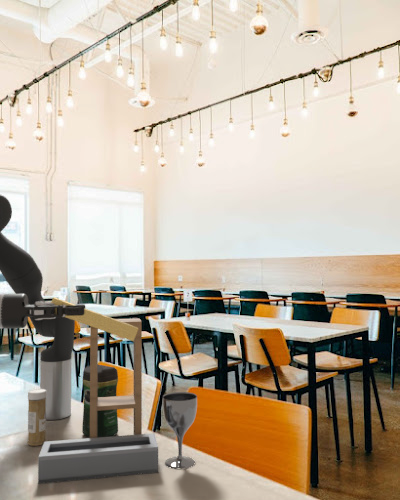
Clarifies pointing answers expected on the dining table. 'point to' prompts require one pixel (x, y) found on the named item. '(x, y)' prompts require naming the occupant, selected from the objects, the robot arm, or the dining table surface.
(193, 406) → the wine glass
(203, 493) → the dining table surface
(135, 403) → the walnut stand
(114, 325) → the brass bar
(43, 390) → the sprinkles bottle
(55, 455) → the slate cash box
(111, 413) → the coffee jar
